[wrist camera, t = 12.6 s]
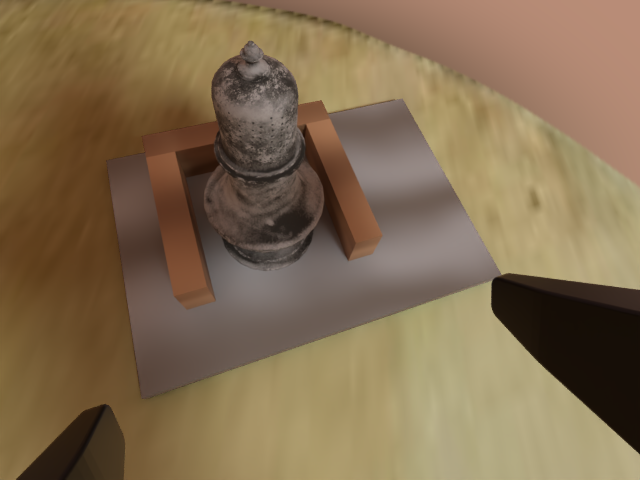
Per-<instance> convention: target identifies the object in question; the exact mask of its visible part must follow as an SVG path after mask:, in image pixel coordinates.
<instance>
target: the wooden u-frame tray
mask: <svg viewBox="0 0 640 480" xmlns="http://www.w3.org/2000/svg"><path fill="white" fill-rule="evenodd" d="M297 127H298V129H299V130H300V131H301V133H302V135H303V137H304V140H305V147H306V150H305V155H304V161H305V162H307V163H308V164H309V165H310V166H311V167H312V169H313V170H314V171H315V172H316V173H317V175H318V177H319V179H320V181H321V184H322V186H323V192H324V205H323V211H322V215H321V217H320V219H319V221H318V223H317V225H316V226H315V228H314V231H313V237H312V241H311V243H310V245H309V247H308V249H307V251H306V252H305V253H304V255H303V256H302V257H301V258H300V259H299V260H297V261H296V262H294V263H293V264H291V265H290V266H288V267H285V268H282V269H279V270H271V271H261V270H255V269H251V268H249V267H247V266H244V265H242V264H240V263H239V262H238V261H237V260H235V259H234V258H233V257H232V256H231V255H230V253H229V252H228V251H227V249H226V248H225V246H224V242H223V239H222V236H220V235H219V234H218V233H217V232H216V231H215V229H214V228H213V226H212V225H211V223H210V222H209V221H208V218H207V214H206V211H205V208H204V191H205V188H206V185H207V182H208V179H209V178H210V176H211V175H212V173H213V172H214V170H215V169H216V168H217V167H218V166H219V163H218V161H217V159H216V156H215V153H214V141H215V138H216V135H217V132H218V131H219V127H218V122H217V121H215V122H210V123H205V124H200V125H195V126H190V127H185V128H180V129H175V130H170V131H165V132H160V133H155V134H150V135H145V136H142V139H143V144H144V149H145V153H140V154H135V155H131V156H126V157H121V158H116V159H112V160H107V161H106V162H107V169H108V176H109V182H110V189H111V196H112V202H113V209H114V216H115V223H116V229H117V236H118V243H119V250H120V256H121V263H122V270H123V276H124V283H125V290H126V297H127V303H128V310H129V317H130V324H131V330H132V337H133V344H134V350H135V357H136V364H137V371H138V377H139V384H140V391H141V398H142V399H147V398H150V397H153V396H156V395H159V394H162V393H165V392H168V391H171V390H174V389H176V388H179V387H182V386H185V385H188V384H191V383H194V382H197V381H200V380H203V379H206V378H209V377H211V376H214V375H217V374H220V373H223V372H226V371H229V370H232V369H235V368H238V367H241V366H244V365H246V364H249V363H252V362H255V361H258V360H261V359H264V358H267V357H270V356H273V355H276V354H279V353H281V352H284V351H287V350H290V349H293V348H296V347H299V346H302V345H305V344H308V343H311V342H314V341H316V340H319V339H322V338H325V337H328V336H331V335H334V334H337V333H340V332H343V331H346V330H349V329H351V328H354V327H357V326H360V325H363V324H366V323H369V322H372V321H375V320H378V319H381V318H384V317H386V316H389V315H392V314H395V313H398V312H401V311H404V310H407V309H410V308H413V307H416V306H419V305H421V304H424V303H427V302H430V301H433V300H436V299H439V298H442V297H445V296H448V295H451V294H454V293H456V292H459V291H462V290H465V289H468V288H471V287H474V286H477V285H480V284H483V283H486V282H489V281H491V280H493V279H494V278H495V277H498V276H501V273H500V271H499V269H498V268H497V266H496V264H495V262H494V261H493V259H492V257H491V255H490V253H489V252H488V250H487V248H486V246H485V245H484V243H483V241H482V239H481V237H480V236H479V234H478V232H477V230H476V229H475V227H474V225H473V223H472V221H471V220H470V218H469V216H468V214H467V213H466V211H465V209H464V207H463V205H462V204H461V202H460V200H459V198H458V197H457V195H456V193H455V191H454V189H453V188H452V186H451V184H450V182H449V181H448V179H447V177H446V175H445V173H444V172H443V170H442V168H441V166H440V165H439V163H438V161H437V159H436V157H435V156H434V154H433V152H432V150H431V149H430V147H429V145H428V143H427V141H426V140H425V138H424V136H423V134H422V133H421V131H420V129H419V127H418V125H417V124H416V122H415V120H414V118H413V117H412V115H411V113H410V111H409V109H408V108H407V106H406V104H405V102H404V101H403V99H399V100H394V101H389V102H384V103H380V104H375V105H370V106H365V107H360V108H356V109H351V110H346V111H341V112H337V113H332V114H328V113H327V111H326V109H325V107H324V104H323V102H322V100H320V101H315V102H310V103H305V104H300V105H298V116H297Z"/></svg>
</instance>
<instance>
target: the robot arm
mask: <svg viewBox="0 0 640 480" xmlns="http://www.w3.org/2000/svg"><path fill="white" fill-rule="evenodd" d="M491 307H492V310H493V313H494V314H495V316H496V317H497V318H498V319H499V320H500V321H501V322H502V324H503V325H504V326H505V327H506V328H507V329H508V330H509V331H510V332H511V333H512V334H513V336H514V337H515V338H516V339H517V340H518V341H519V342H520V343H521V344H522V345H523V346H524V347H525V349H526V350H527V351H528V352H529V353H530V354H531V355H532V356H533V357H534V358H535V359H536V360H537V361H538V362H539V363H540V364H541V365H542V366H543V367H544V368H545V369H546V370H547V371H548V372H550V373H551V374H552V375H553V376H554V377H555V378H556V379H557V380H558V381H559V382H561V383H562V384H563V385H564V386H565V387H566V388H567V389H568V390H569V391H571V392H572V393H573V394H574V395H575V396H576V397H577V398H578V399H579V400H580V401H582V402H583V403H584V404H585V405H586V406H587V407H588V408H589V409H590V410H591V411H593V412H594V413H595V414H596V415H597V416H598V417H599V418H600V419H601V420H602V421H604V422H605V423H606V424H607V425H608V426H609V427H610V428H611V429H612V430H613V431H615V432H616V433H617V434H618V435H619V436H620V437H621V438H622V439H623V440H624V441H626V442H627V443H628V444H629V445H630V446H631V447H632V448H633V449H634V450H636V451H637V452H638V453H639V454H640V290H636V289H628V288H620V287H613V286H605V285H597V284H589V283H582V282H574V281H566V280H558V279H551V278H543V277H535V276H527V275H520V274H512V273H507V274H504V275H501V276H498V277H495V278H494V279H493V281H492V290H491ZM124 460H125V440H124V436H123V433H122V431H121V429H120V426H119V424H118V422H117V420H116V418H115V415H114V413H113V411H112V409H111V408H110V406H109V405H106V404H103V405H100V406H97V407H94V408H90V409H87V410H85V411H83V412H82V413H81V414H80V415H79V416H78V417H77V418H76V419H75V420H74V421H73V422H72V423H71V424H70V425H69V426H68V427H67V428H66V429H65V430H64V431H63V432H62V433H61V434H60V435H59V436H58V437H57V438H56V439H55V440H54V441H53V442H52V443H51V444H50V445H49V446H48V447H47V449H46V450H45V451H44V452H43V453H42V454H41V455H40V456H39V457H38V458H37V459H36V460H35V461H34V462H33V463H32V464H31V465H30V466H29V467H28V468H27V469H26V470H25V471H24V472H23V473H22V474H21V475H20V476H19V477H18V478H17V479H16V480H124Z"/></svg>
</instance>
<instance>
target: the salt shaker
mask: <svg viewBox="0 0 640 480" xmlns="http://www.w3.org/2000/svg"><path fill="white" fill-rule="evenodd" d="M263 54H264V53H263V51H262V49H260V48H259V47H258V46H257V45H256V44H254V42H253V41H248V43H247V44H246V45H245V46H244V48H242V49H241V51H240V55H237V56H235V57H233V58H230V59H229V60H227V61H226V62H224V63H223V64H222V66H221V67H220V68H219V69H218V71H217V72H216V73H215V75H214V77H213V80H212V88H211V89H212V101H213V105H214V109H215V114H216V118H217V122H218V127H219V131H218V132H217V135H216V138H215V141H214V153H215V156H216V159H217V161H218V163H219V166H218V167H217V168H216V169H215V170H214V172H213V173H212V175H211V176H210V178H209V179H208V182H207V185H206V188H205V191H204V208H205V211H206V214H207V218H208V221H209V222H210V223H211V225H212V226H213V228H214V229H215V231H216V232H217V233H218V234H219V235H220V236H222V239H223V242H224V246H225V248H226V249H227V251H228V252H229V253H230V255H231V256H232V257H233V258H234V259H235V260H237V261H238V262H239V263H240V264H242V265H244V266H247V267H249V268H251V269H255V270H261V271H271V270H279V269H282V268H285V267H288V266H290V265H291V264H293V263H294V262H296V261H297V260H299V259H300V258H301V257H302V256H303V255H304V253H305V252H306V251H307V249H308V247H309V245H310V243H311V241H312V237H313V231H314V228H315V226H316V225H317V223H318V221H319V219H320V217H321V215H322V211H323V205H324V192H323V186H322V184H321V181H320V179H319V177H318V175H317V173H316V172H315V171H314V170H313V169H312V167H311V166H310V165H309V164H308V163H307V162H305V161H304V155H305V150H306V147H305V140H304V137H303V135H302V133H301V131H300V130H299V129H298V127H297V116H298V89H297V84H296V81H295V79H294V77H293V75H292V73H291V72H290V71H289V70H288V69H287V68H286V67H285V66H284V65H283V64H282V63H281V62H279V61H278V60H276V59H275V58H272V57H269V56H267V55H263Z"/></svg>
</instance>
